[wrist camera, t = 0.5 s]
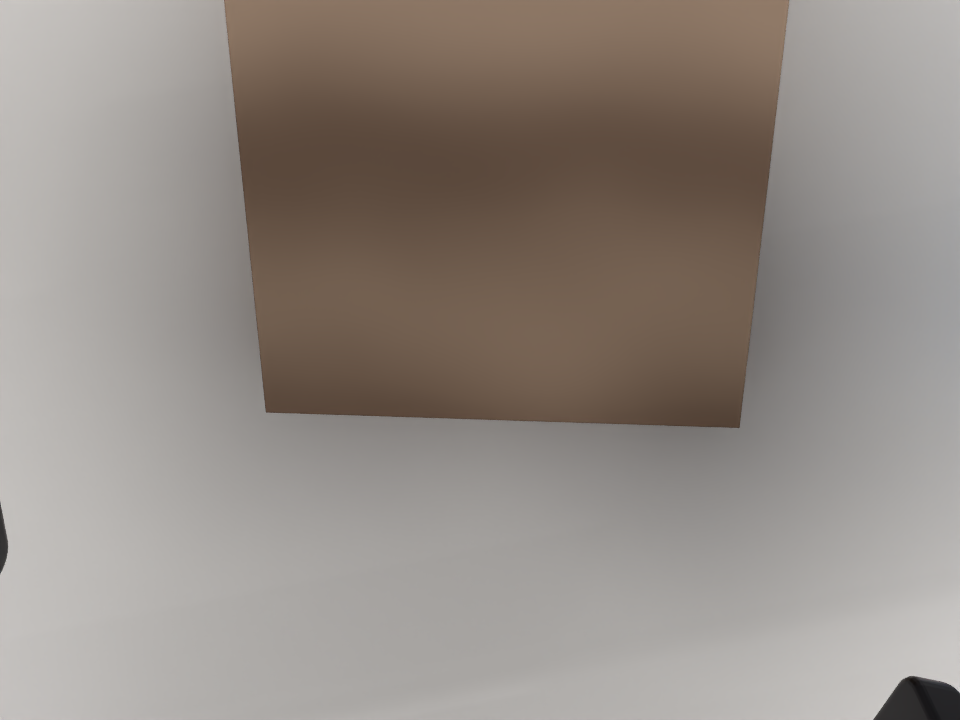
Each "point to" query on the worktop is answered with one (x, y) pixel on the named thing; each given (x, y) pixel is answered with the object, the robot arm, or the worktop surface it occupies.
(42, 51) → the worktop surface
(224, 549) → the worktop surface
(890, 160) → the worktop surface
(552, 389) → the walnut block
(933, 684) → the robot arm
